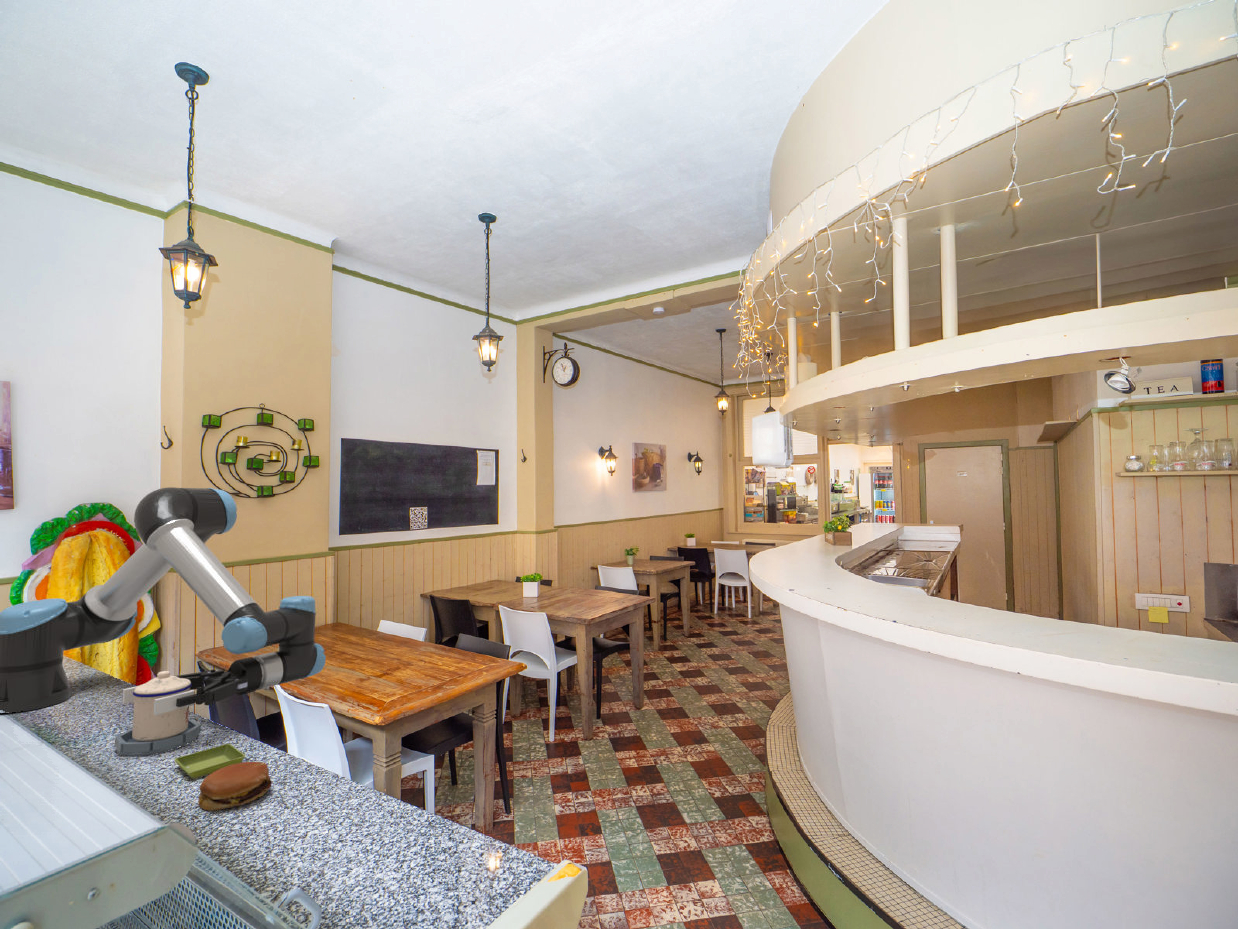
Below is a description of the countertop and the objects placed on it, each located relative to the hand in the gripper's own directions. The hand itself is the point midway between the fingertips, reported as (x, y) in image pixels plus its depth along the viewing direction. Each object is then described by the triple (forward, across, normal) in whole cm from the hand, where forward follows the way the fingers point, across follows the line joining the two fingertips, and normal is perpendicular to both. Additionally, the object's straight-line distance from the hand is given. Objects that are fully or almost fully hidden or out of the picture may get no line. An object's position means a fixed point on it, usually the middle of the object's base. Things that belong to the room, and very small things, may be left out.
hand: (138, 702), depth 113 cm
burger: (+1, -36, -9) cm, 37 cm away
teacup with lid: (-3, 0, -7) cm, 8 cm away
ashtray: (-4, 0, -9) cm, 10 cm away
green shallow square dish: (-3, -20, -10) cm, 23 cm away
